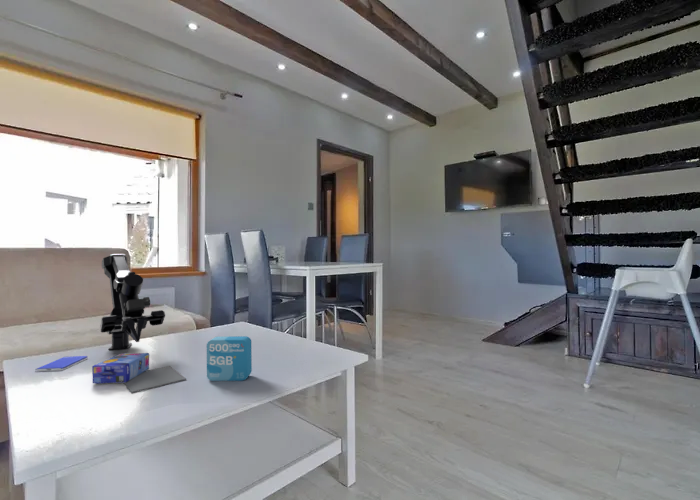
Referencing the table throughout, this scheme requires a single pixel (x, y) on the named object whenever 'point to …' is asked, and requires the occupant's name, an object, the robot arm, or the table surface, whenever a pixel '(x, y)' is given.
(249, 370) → the data package
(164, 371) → the mat
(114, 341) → the robot arm
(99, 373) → the ink cartridge box
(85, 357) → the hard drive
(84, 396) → the table surface
